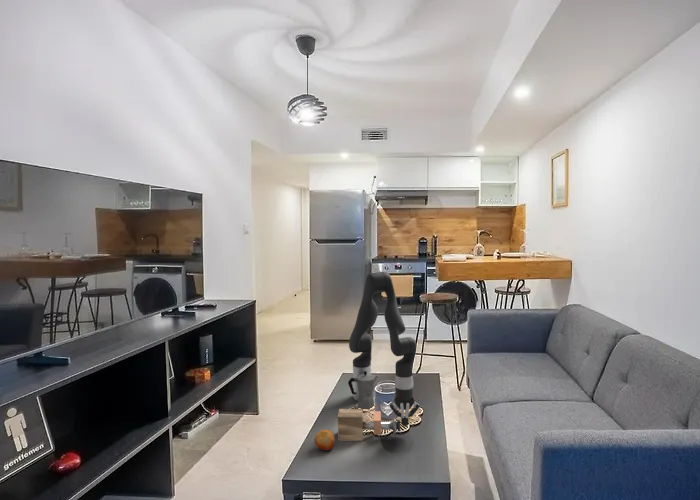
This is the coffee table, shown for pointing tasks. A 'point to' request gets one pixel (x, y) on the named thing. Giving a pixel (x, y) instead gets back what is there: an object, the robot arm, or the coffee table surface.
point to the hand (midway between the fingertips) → (404, 425)
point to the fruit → (324, 440)
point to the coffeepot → (364, 389)
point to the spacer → (377, 422)
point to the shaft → (383, 425)
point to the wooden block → (350, 425)
